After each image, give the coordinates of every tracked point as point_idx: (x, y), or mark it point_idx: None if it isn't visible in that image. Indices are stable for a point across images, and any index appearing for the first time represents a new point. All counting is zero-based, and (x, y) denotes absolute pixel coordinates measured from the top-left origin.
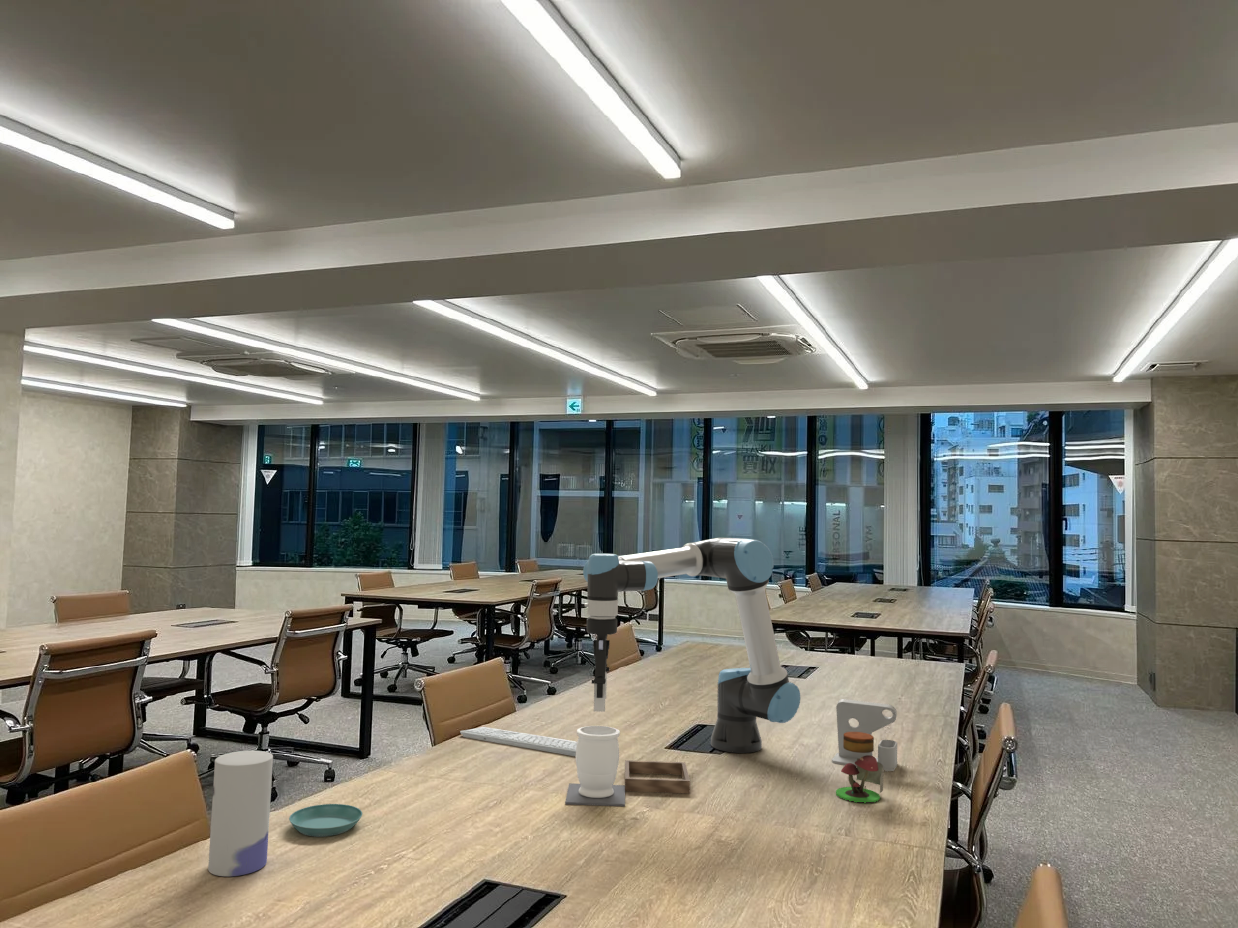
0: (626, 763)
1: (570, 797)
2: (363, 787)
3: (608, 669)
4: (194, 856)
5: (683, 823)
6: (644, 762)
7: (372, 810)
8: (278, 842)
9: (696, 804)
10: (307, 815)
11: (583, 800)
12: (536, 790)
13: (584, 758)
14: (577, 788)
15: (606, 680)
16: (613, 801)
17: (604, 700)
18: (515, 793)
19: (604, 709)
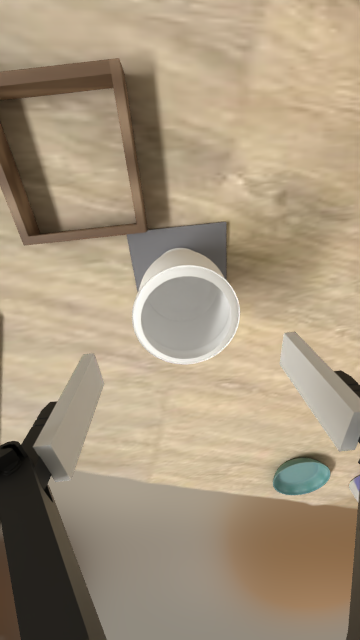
0: (45, 240)
1: None
2: (200, 479)
3: (10, 455)
4: (345, 500)
5: (309, 89)
6: (15, 200)
7: (259, 458)
8: None
9: (195, 52)
10: (283, 486)
11: None
12: None
13: (219, 317)
14: None
15: (68, 407)
16: (214, 243)
17: (316, 356)
18: (193, 372)
19: (298, 337)
